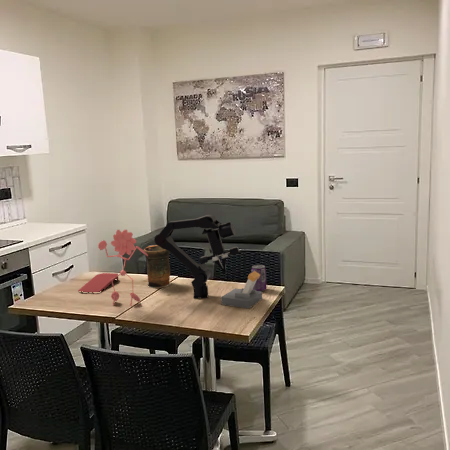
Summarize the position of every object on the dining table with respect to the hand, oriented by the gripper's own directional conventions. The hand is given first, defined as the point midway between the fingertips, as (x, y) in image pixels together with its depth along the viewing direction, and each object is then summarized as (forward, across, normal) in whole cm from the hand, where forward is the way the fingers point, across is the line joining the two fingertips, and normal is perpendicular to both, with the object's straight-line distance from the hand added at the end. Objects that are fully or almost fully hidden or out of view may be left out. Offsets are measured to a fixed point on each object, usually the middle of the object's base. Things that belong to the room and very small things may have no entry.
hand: (224, 272), depth 226 cm
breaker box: (+14, -4, +5) cm, 16 cm away
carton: (-7, +68, -28) cm, 74 cm away
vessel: (0, +37, -28) cm, 46 cm away
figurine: (0, +48, -1) cm, 48 cm away
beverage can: (+15, -13, -12) cm, 23 cm away
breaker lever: (+11, -7, +6) cm, 15 cm away
